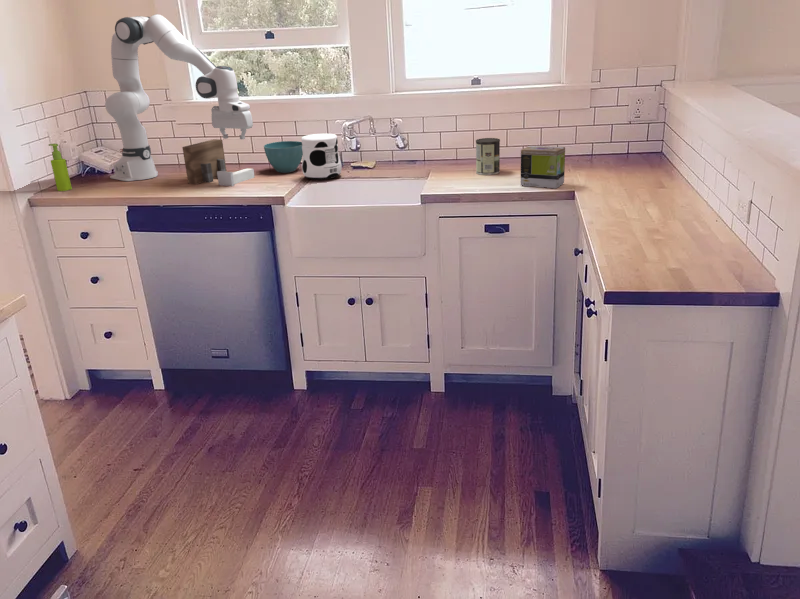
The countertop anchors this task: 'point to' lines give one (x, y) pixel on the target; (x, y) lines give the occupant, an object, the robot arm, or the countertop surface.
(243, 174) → the white t-shaped piece
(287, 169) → the teal bowl
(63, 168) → the soap dispenser
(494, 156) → the coffee can
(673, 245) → the countertop surface
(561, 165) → the tea box
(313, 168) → the milk container
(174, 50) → the robot arm
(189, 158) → the brown wooden block
